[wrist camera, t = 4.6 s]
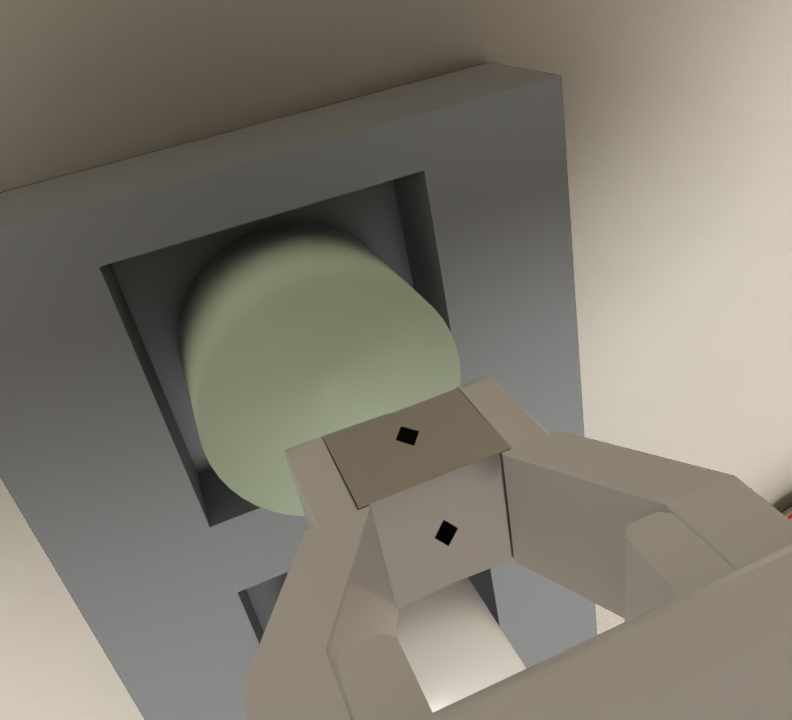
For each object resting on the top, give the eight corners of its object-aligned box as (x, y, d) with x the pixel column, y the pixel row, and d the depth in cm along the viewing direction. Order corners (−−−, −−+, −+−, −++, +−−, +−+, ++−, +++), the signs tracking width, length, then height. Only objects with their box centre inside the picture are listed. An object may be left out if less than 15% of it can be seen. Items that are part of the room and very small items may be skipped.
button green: (142, 263, 14) (154, 329, 11) (376, 193, 15) (440, 238, 12) (219, 460, 16) (244, 553, 14) (416, 388, 17) (475, 460, 15)
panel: (-86, 215, 14) (-125, 266, 11) (488, 62, 16) (561, 75, 14) (264, 858, 26) (283, 952, 23) (560, 711, 28) (606, 781, 26)
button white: (272, 609, 16) (308, 729, 14) (464, 529, 17) (531, 626, 15) (322, 734, 19) (360, 856, 16) (487, 656, 20) (549, 759, 17)
